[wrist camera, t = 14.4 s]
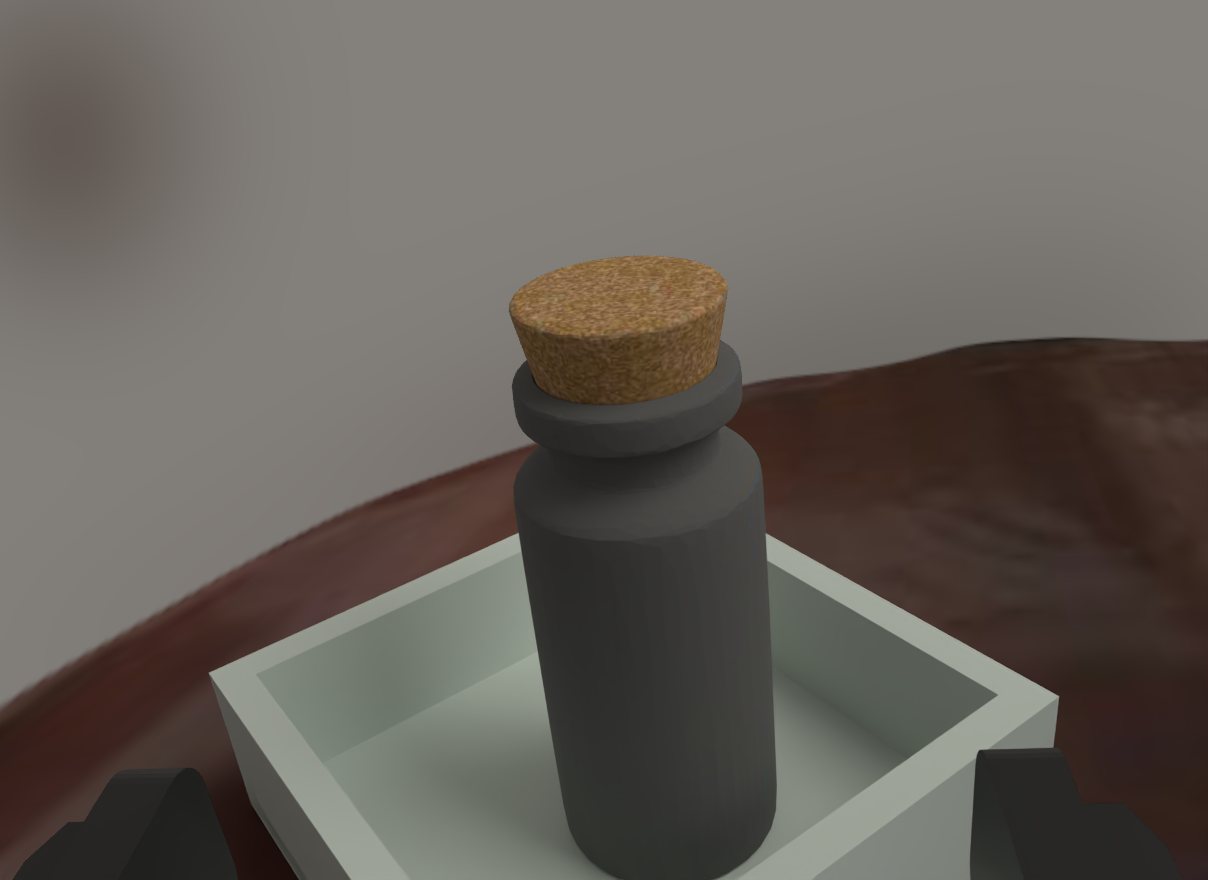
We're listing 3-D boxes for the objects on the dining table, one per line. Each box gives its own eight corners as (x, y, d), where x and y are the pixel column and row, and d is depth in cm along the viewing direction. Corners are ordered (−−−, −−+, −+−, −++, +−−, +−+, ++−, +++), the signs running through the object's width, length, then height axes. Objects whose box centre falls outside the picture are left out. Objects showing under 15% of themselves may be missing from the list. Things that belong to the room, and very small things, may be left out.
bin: (664, 589, 42) (654, 471, 40) (1042, 843, 30) (1059, 696, 28) (251, 803, 34) (208, 672, 32) (539, 1260, 22) (505, 1104, 20)
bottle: (598, 720, 35) (533, 246, 28) (792, 742, 33) (774, 244, 26) (536, 872, 30) (437, 342, 23) (759, 907, 28) (726, 347, 21)
